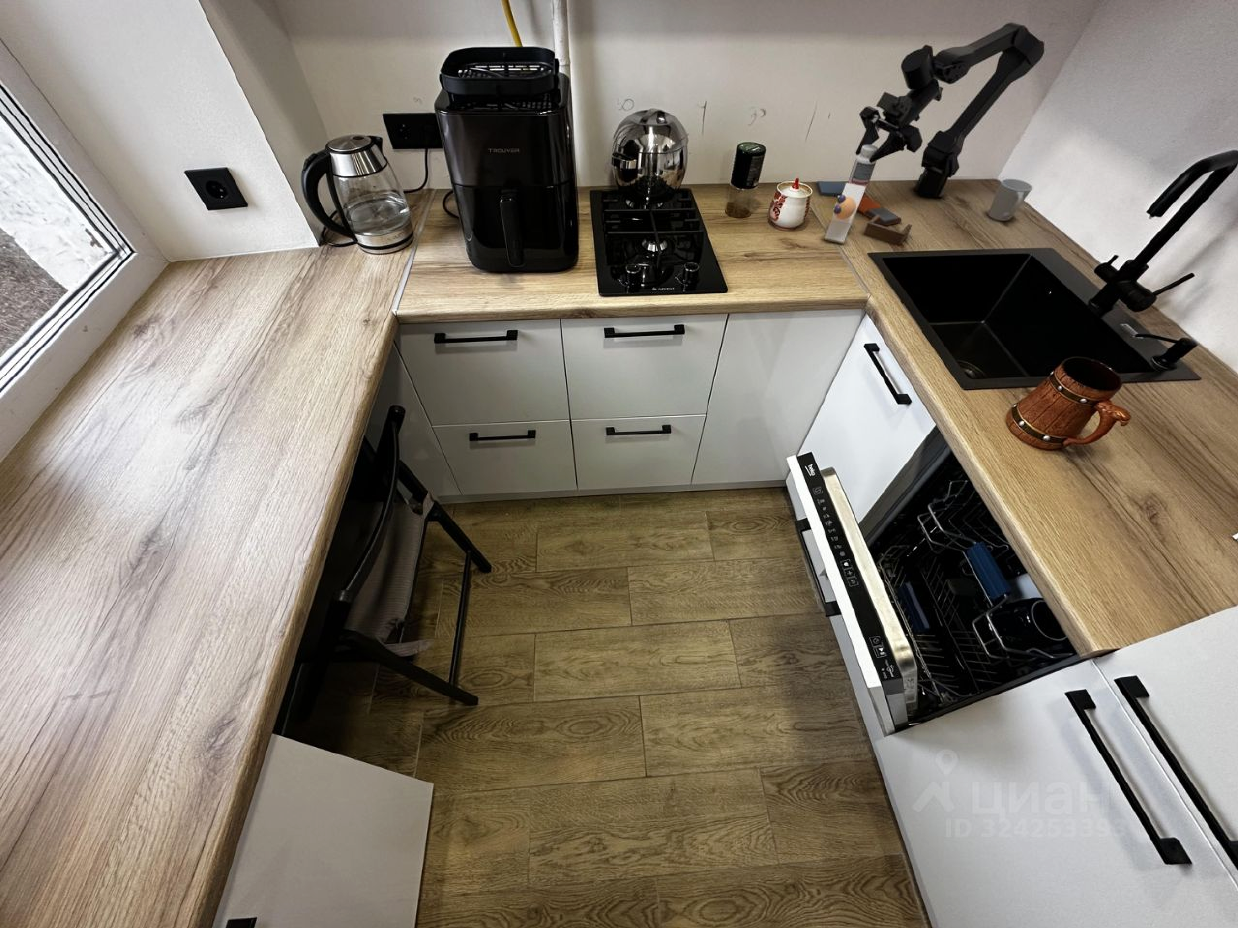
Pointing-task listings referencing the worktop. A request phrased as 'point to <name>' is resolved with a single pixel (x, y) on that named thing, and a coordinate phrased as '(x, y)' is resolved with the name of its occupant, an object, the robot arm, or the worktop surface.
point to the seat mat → (831, 188)
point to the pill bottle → (863, 166)
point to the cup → (1009, 198)
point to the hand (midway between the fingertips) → (862, 157)
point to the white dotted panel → (844, 212)
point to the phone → (877, 212)
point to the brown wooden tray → (886, 232)
